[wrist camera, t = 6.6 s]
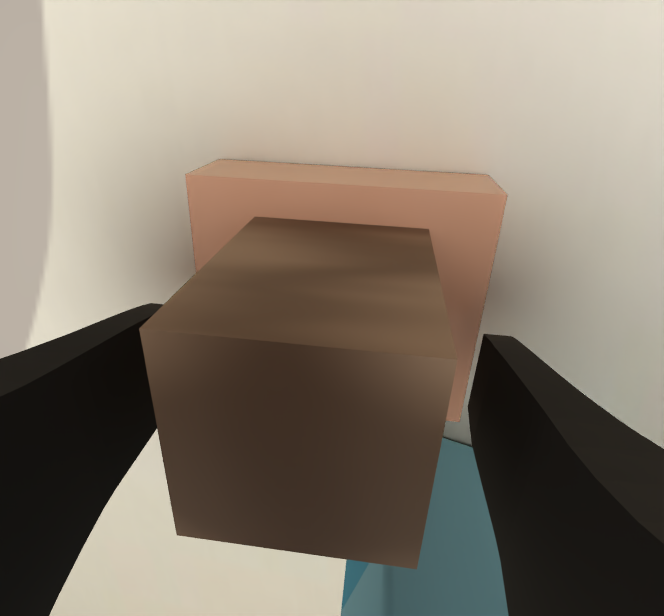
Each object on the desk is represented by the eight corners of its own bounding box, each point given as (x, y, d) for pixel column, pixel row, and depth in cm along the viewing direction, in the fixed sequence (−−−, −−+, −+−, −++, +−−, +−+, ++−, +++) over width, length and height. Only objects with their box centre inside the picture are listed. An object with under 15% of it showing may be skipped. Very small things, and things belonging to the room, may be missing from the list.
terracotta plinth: (488, 174, 13) (507, 194, 11) (450, 375, 16) (459, 422, 14) (219, 159, 14) (185, 174, 12) (233, 353, 17) (209, 394, 15)
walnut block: (428, 228, 11) (457, 359, 6) (408, 375, 13) (416, 569, 8) (254, 216, 12) (139, 328, 6) (260, 360, 14) (176, 535, 9)
